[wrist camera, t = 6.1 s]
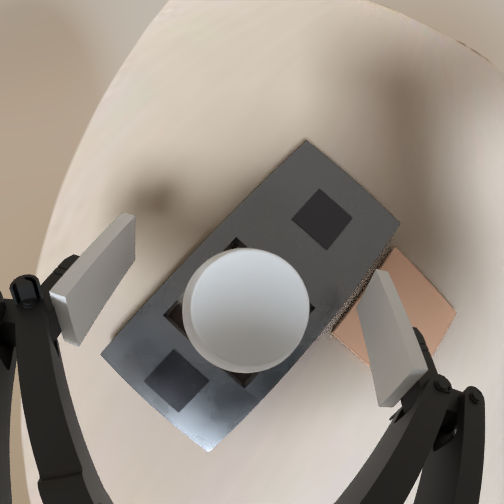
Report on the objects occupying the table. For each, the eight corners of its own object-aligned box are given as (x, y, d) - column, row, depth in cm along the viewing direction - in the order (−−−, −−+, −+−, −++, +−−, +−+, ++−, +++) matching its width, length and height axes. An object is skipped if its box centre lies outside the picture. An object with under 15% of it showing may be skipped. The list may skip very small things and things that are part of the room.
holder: (301, 151, 22) (306, 139, 21) (389, 229, 21) (401, 222, 20) (109, 352, 18) (99, 354, 16) (209, 442, 17) (208, 452, 15)
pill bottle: (206, 264, 20) (189, 212, 10) (287, 280, 20) (340, 244, 10) (189, 345, 18) (154, 369, 9) (272, 361, 19) (315, 397, 9)
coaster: (392, 247, 21) (395, 246, 21) (453, 312, 20) (456, 312, 20) (330, 333, 19) (332, 333, 19) (402, 395, 19) (405, 396, 18)
